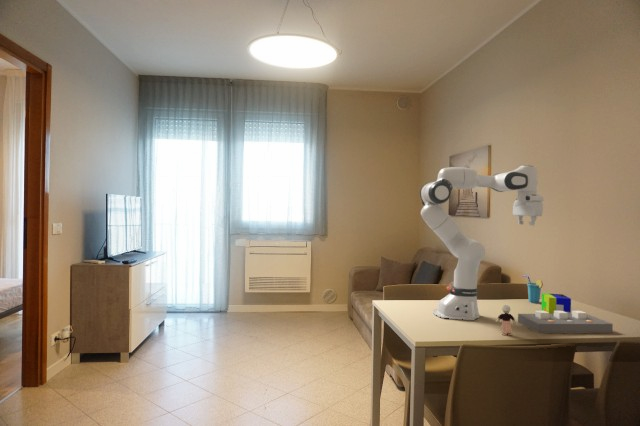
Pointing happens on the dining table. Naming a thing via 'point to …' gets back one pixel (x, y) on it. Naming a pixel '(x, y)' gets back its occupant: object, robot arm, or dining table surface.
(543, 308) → the puzzle toy
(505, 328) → the grandmother figurine
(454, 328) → the dining table surface
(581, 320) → the button board
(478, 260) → the robot arm
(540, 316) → the button
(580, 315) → the button
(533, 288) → the cup
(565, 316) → the button middle
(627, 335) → the dining table surface
